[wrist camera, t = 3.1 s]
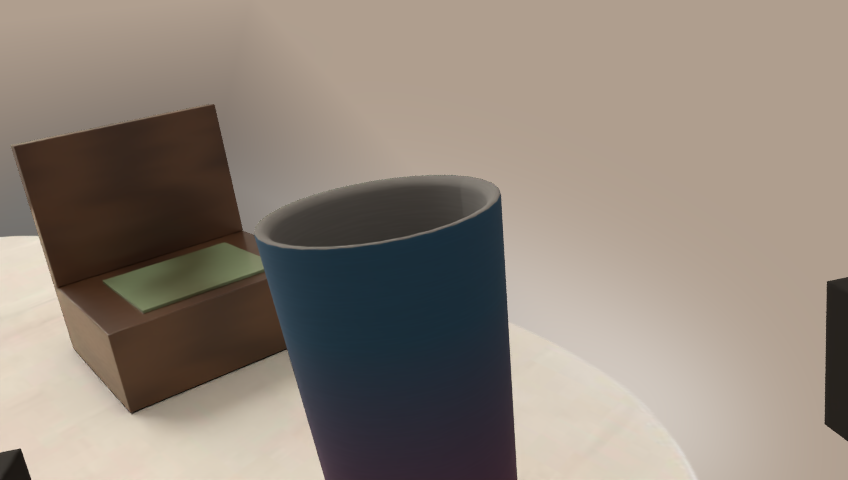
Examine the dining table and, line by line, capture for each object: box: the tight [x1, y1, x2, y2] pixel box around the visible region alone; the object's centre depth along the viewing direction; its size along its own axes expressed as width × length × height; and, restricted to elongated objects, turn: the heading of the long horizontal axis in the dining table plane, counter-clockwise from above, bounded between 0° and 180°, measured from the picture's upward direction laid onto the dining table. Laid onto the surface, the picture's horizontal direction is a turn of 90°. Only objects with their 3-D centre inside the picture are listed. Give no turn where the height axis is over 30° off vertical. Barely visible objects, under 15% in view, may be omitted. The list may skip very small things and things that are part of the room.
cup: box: [254, 175, 517, 480], centre depth 23 cm, size 7×7×15 cm
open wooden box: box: [11, 104, 287, 413], centre depth 52 cm, size 14×14×15 cm
